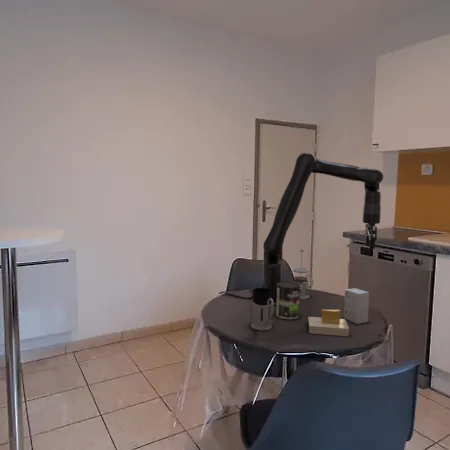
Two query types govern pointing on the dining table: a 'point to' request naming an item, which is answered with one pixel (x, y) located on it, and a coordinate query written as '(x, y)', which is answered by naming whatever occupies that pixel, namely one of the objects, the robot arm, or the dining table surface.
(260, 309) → the glass holder
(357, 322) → the small box
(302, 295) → the french press
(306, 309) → the dining table surface
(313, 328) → the base
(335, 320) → the tan rectangular block
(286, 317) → the coffee can
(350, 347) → the dining table surface
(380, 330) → the dining table surface
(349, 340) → the dining table surface
